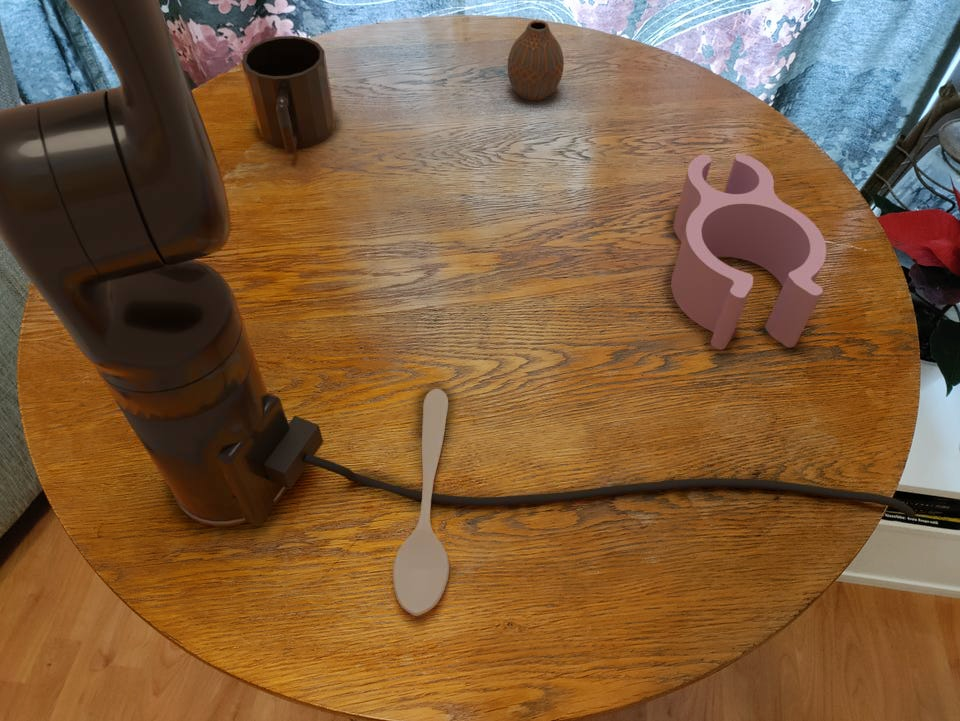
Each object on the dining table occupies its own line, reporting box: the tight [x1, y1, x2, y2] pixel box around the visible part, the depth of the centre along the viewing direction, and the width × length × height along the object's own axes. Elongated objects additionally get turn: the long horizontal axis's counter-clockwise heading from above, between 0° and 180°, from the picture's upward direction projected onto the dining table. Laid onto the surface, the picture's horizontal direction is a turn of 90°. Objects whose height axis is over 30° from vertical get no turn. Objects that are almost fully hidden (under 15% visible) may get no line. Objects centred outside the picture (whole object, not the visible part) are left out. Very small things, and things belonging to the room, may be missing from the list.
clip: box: [670, 153, 827, 351], centre depth 74 cm, size 20×12×7 cm, turn 3°
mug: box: [241, 35, 336, 154], centre depth 87 cm, size 13×9×9 cm
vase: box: [507, 19, 565, 101], centre depth 94 cm, size 7×7×9 cm
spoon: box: [392, 388, 450, 617], centre depth 60 cm, size 4×21×2 cm, turn 178°
